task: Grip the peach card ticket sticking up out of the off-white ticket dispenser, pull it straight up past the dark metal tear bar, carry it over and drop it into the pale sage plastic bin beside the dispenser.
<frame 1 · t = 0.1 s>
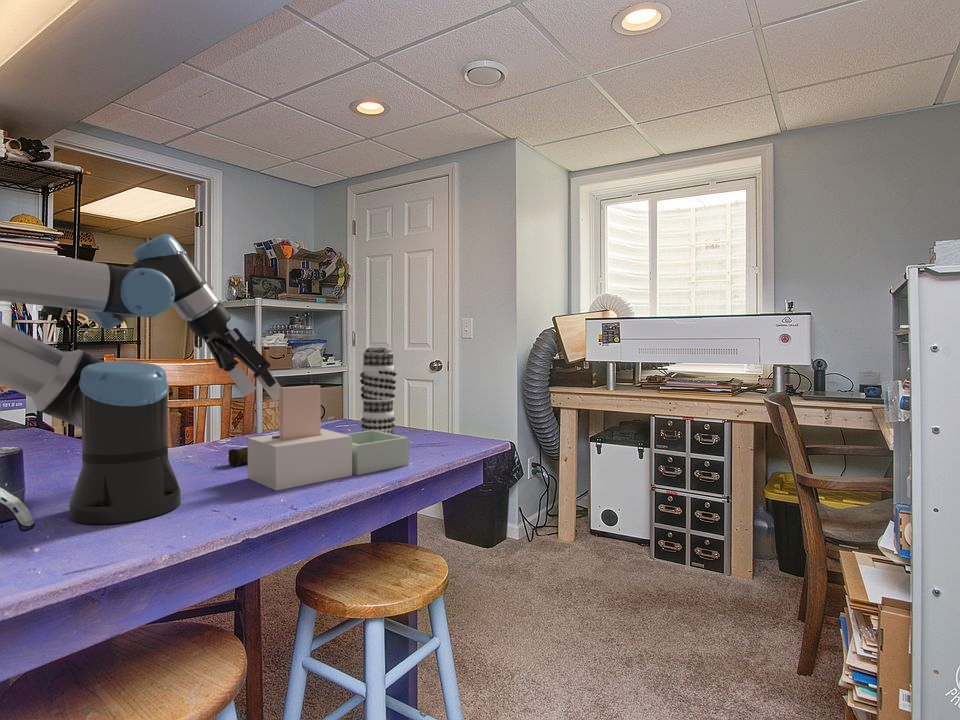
hand: (264, 394, 119), 15 cm above the table, tool tilted 35°, fingers open, 13 cm apart
ticket: (300, 466, 112), point 2 cm above the table, touching dispenser
hand tool: (269, 460, 128), on the table
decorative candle: (378, 445, 144), on the table
dispenser: (300, 476, 112), on the table
bin: (366, 464, 123), on the table
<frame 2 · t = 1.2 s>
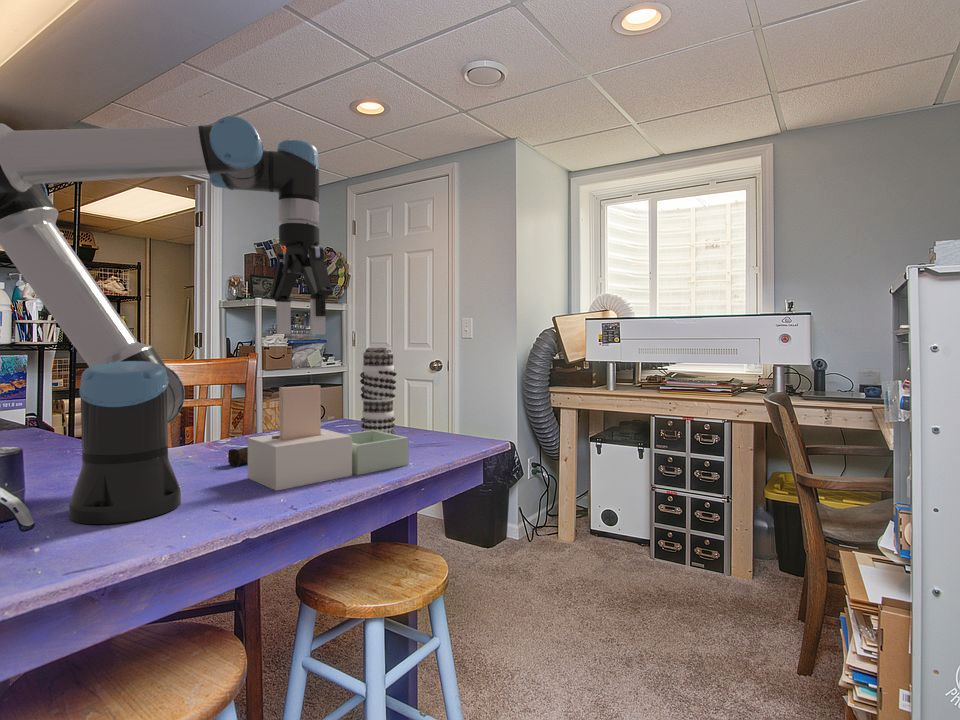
hand: (300, 334, 110), 28 cm above the table, tool pointing down, fingers open, 13 cm apart
nothing on the table moved.
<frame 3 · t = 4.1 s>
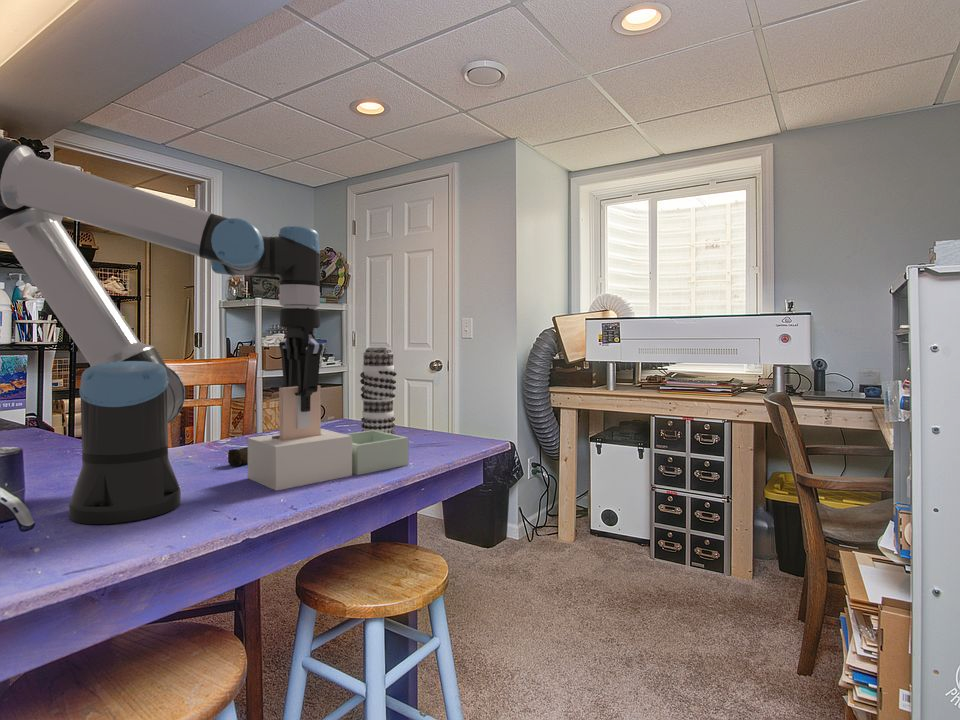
hand: (300, 427, 111), 10 cm above the table, tool pointing down, fingers closed on ticket, 1 cm apart
ticket: (300, 466, 112), point 2 cm above the table, touching dispenser, gripper
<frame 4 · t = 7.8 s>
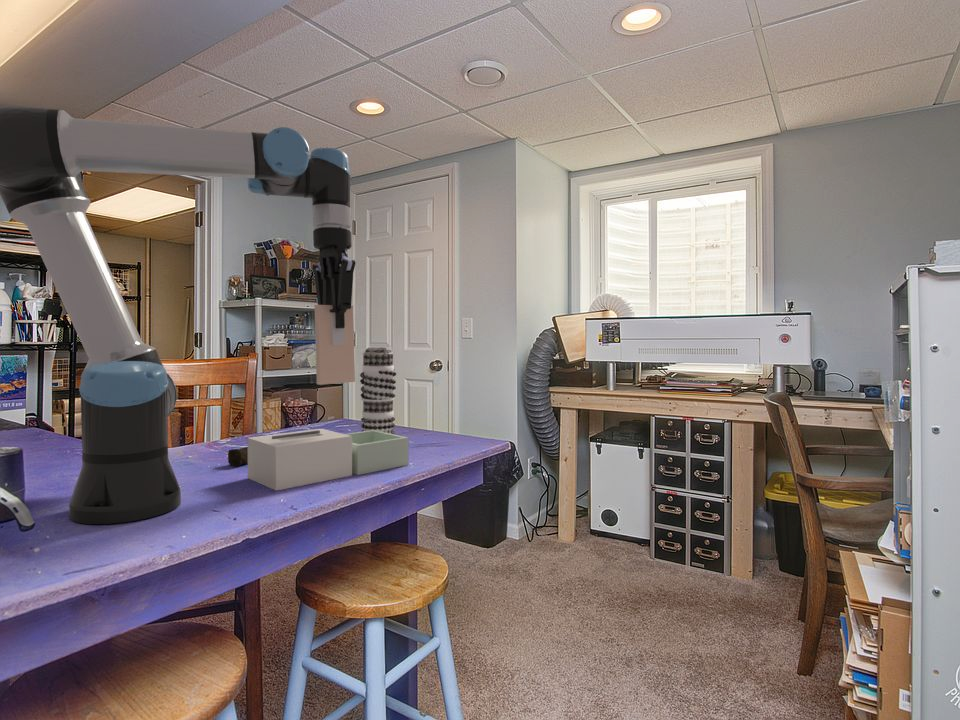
hand: (335, 344, 116), 26 cm above the table, tool pointing down, fingers closed on ticket, 1 cm apart
ticket: (336, 383, 116), point 18 cm above the table, touching gripper
when the fingers open (11 cm above the table, at t = 11.1 s): ticket drops 2 cm, resting on bin.
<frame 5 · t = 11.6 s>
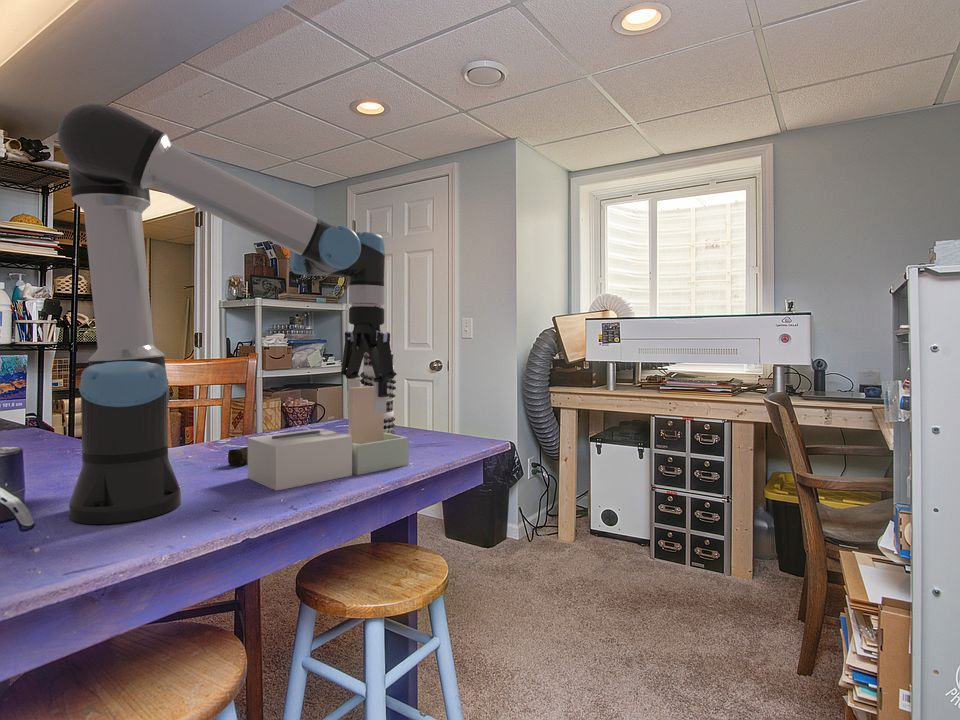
hand: (366, 409, 122), 12 cm above the table, tool pointing down, fingers open, 9 cm apart
ticket: (366, 459, 123), point 1 cm above the table, touching bin
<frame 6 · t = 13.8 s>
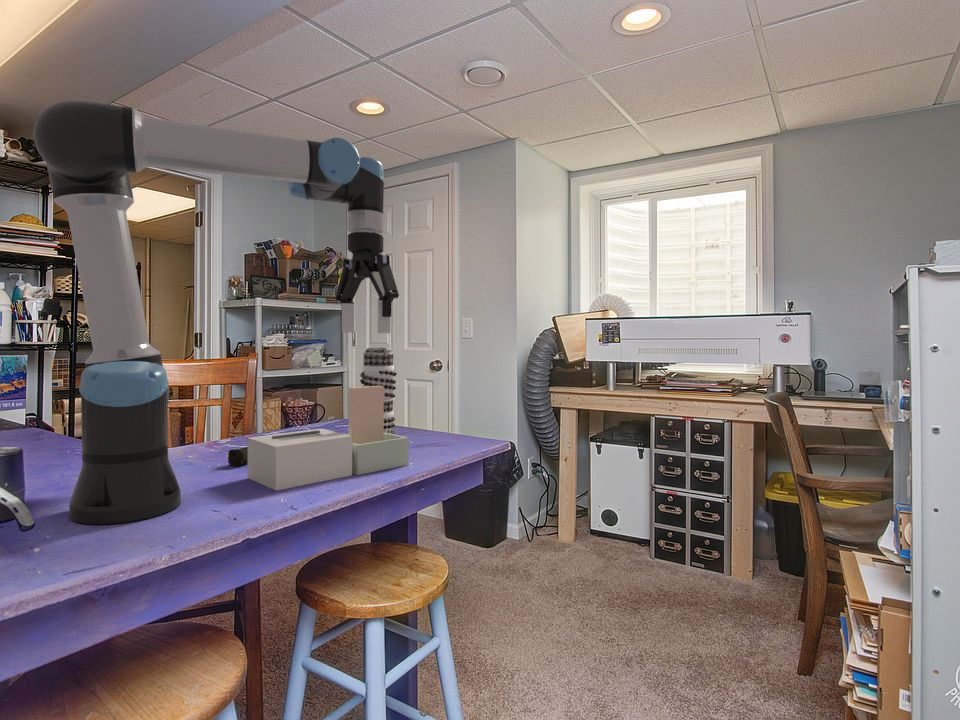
hand: (365, 333, 121), 29 cm above the table, tool pointing down, fingers open, 13 cm apart
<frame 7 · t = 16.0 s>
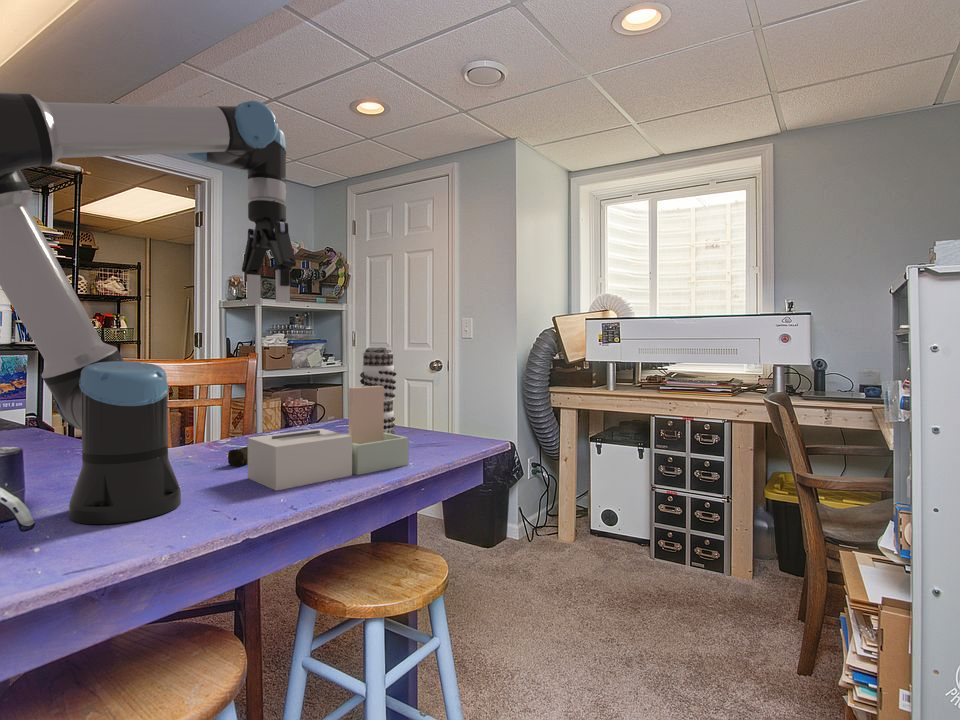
hand: (267, 303, 120), 35 cm above the table, tool pointing down, fingers open, 13 cm apart
at the end: ticket inside the target area on the bin (0.0 cm from its centre), point 1.0 cm above the bin's base; ticket touching bin; the gripper is holding nothing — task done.
